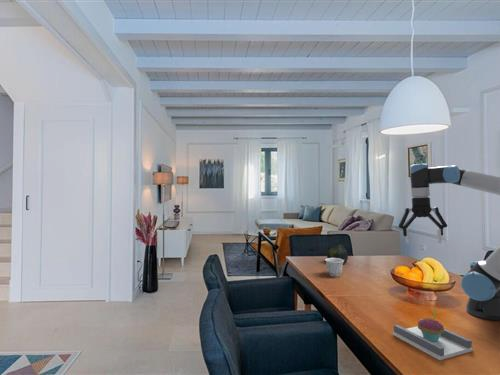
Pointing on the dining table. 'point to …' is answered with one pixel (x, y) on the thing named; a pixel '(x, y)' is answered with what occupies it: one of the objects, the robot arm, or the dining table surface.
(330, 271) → the teacup
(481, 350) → the dining table surface
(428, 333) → the cupcake
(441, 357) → the rail board
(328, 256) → the squash
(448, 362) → the dining table surface
